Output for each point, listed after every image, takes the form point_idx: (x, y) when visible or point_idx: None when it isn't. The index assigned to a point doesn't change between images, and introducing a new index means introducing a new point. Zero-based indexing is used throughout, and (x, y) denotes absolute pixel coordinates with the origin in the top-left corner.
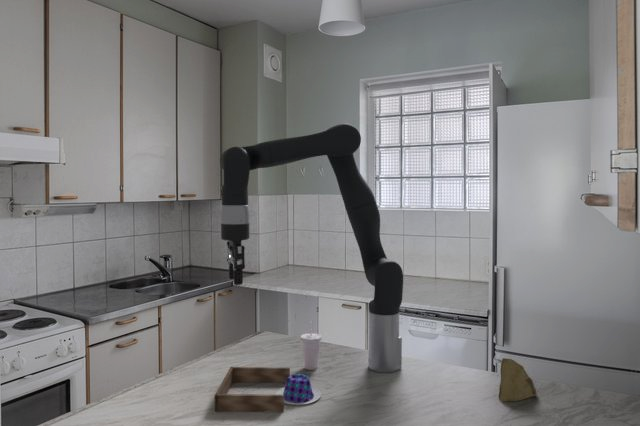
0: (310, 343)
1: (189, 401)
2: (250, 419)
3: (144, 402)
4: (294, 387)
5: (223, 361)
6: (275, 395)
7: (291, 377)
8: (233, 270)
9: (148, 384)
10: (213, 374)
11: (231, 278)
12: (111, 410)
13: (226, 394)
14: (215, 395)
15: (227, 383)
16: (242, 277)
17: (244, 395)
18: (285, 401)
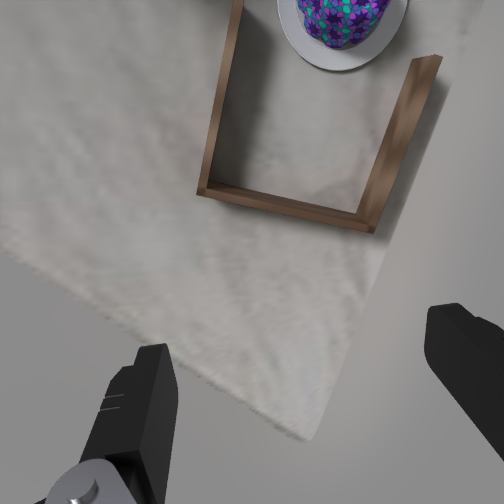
0: None
1: (296, 273)
2: (422, 147)
3: (277, 350)
4: (385, 7)
5: (45, 203)
6: (430, 80)
7: (345, 5)
8: (158, 431)
9: (189, 357)
10: (147, 229)
11: (174, 383)
12: (296, 391)
13: (378, 207)
14: (373, 232)
15: (274, 200)
16: (493, 334)
17: (400, 165)
18: (366, 45)
